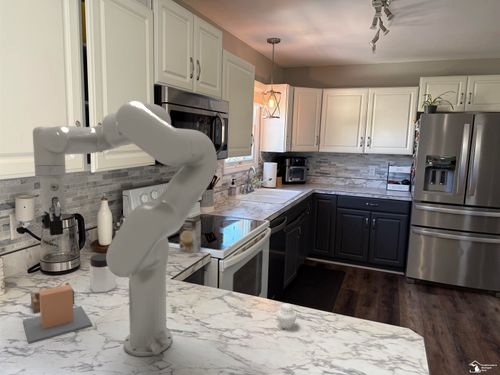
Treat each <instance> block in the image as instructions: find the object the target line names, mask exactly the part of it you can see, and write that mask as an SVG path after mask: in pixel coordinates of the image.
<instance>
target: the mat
mask: <svg viewBox="0 0 500 375" xmlns="http://www.w3.org/2000/svg"><path fill="white" fill-rule="evenodd" d="M73 314H74V321H72V322H68V323H64V324H61V325H57V326H53V327H49V328H46V329H43V328H42V325H41V315H39V316H35V317H30V318H26V319H23V320H22V322H23V323H22V324H23V327H24V330H25V334H26V338H27V342H28V344H33V343H36V342H39V341H43V340H47V339H51V338H54V337H58V336H61V335H65V334H68V333H73V332H76V331H79V330H82V329H88V328H90V327H93V323H92V321H91V319H90V318H89V316H88V315H87V313H86V311H85V310H84V308H83V307H82V305H79V306H76V307H73Z"/></svg>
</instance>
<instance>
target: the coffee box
mask: <svg viewBox="0 0 500 375" xmlns="http://www.w3.org/2000/svg"><path fill="white" fill-rule="evenodd" d="M201 223H202V219H201V218H194V217H189V216H188V217H187V219H186V220H185V222H184V223H183V225H182V226H181V228H180V229H179V252H184V253H194V254H196V253H197V252H200V250H201V244H202V243H201V242H202V241H201V239H202V238H201V237H202V236H201V234H202V231H201V230H202V229H201V228H202V224H201ZM199 249H200V250H199Z"/></svg>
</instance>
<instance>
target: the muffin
mask: <svg viewBox="0 0 500 375" xmlns="http://www.w3.org/2000/svg"><path fill="white" fill-rule="evenodd" d="M275 314H276V319H277V321H278V323H279V325H280V327H281V328H283V329H285V330H286V329H290V328H292V326H293V325H294V323H295V322H296V320H297V316H298V315H297V312H296V311H295V310H294V308H293V306H292V305H291V304H290V303H283V304H282V305H281V307H280V308H279V309H278V310H276V313H275Z"/></svg>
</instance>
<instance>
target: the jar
mask: <svg viewBox="0 0 500 375" xmlns="http://www.w3.org/2000/svg"><path fill="white" fill-rule="evenodd" d="M106 255H107V252H106V253H99V254H93V255H92V256H90V258H89V264H88V265H89V287H90V290H91V291H92V293H94V294H95V293H108V292H109V291H110V292H111V290H113V289H116V287H117V280H116V278H117V276H116V275H115V274H113V273H112V272H111V271H110V269H109V268H108V265H107V261H106Z"/></svg>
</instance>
